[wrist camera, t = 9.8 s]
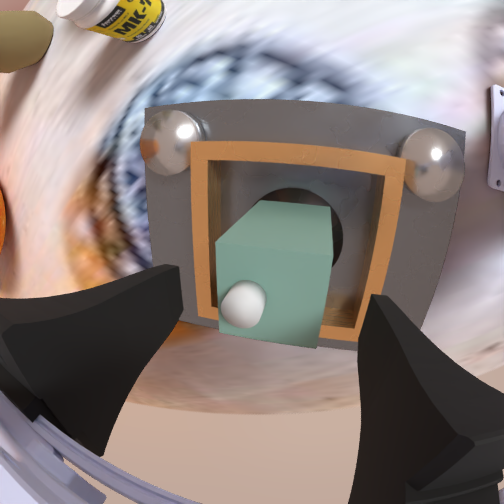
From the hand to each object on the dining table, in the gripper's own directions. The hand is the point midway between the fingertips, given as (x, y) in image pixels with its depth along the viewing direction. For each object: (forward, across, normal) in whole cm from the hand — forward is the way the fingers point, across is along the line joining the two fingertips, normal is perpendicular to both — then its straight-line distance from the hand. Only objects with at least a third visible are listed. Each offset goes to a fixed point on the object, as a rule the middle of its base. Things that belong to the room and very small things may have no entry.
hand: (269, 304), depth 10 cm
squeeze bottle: (+10, +30, -21) cm, 38 cm away
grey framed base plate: (+10, 0, 0) cm, 10 cm away
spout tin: (+7, 0, 0) cm, 7 cm away
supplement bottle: (+10, +13, -17) cm, 24 cm away
